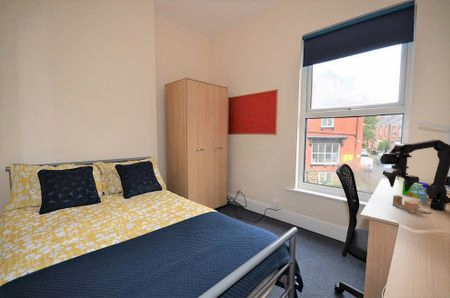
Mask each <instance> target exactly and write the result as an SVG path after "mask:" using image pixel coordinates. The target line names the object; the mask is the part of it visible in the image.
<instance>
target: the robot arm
mask: <svg viewBox="0 0 450 298" xmlns="http://www.w3.org/2000/svg"><path fill="white" fill-rule="evenodd" d="M430 148H433V150H435V151H436V152H437V153H436V154H437V155H436V156H437V158H438V163H437V164H438V165H437V167H436V171H435V175H434V178H433V182H432V183H431V184H428V185H427V189H426V193H427V195H428V196H427V197H428V199H430V204H429V208H430V209H432V210H434V211H439V212H440V211H442V212H443V211H446V206H447V204H450V197H449V196H447V193H448V191H447V188H446V182H447V178H448V175H449V172H450V144H448V143H447V142H444V141H443V140H440V139H431V140H425V141H418V142H414V143H413V142H412V143H396V144H395V145H394V147H393V148H392V149H391V150H390V151H389V153H386V152H384V153H382V155H381V157H379V162H380V164H381V165H392V167H391V168H389V169H387V170H386V169H385V170H383V171H382V175H383V177H386V178H387V179H388V183H389V185H390V188H394V186H395V182H396V178H402V179H403V181H402V182H404V183H405V192H407V191H408V190H409V188H410V187H411V186H412V185H413V184H414V183H417V182H420V178H419V176H415V175H413V174H412V175H409V173H407V169H409V168H410V167H409V166H408V159H409V158H413V157H412V155H411V154H412V153H413V152H415V151H418V150H419V151H420V150H425V149H430ZM410 153H411V154H410Z"/></svg>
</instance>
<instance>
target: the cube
mask: <svg viewBox="0 0 450 298" xmlns="http://www.w3.org/2000/svg"><path fill="white" fill-rule="evenodd" d="M403 204H404V208H405V209H408V210H410V211H411V209H418V207H420V206H419V205H420V203H418V202H416V201H413V200H404V203H403Z"/></svg>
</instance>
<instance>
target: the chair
mask: <svg viewBox="0 0 450 298" xmlns="http://www.w3.org/2000/svg"><path fill="white" fill-rule="evenodd" d="M413 188H416V189H417V191H413V190H414V189H413ZM422 189H425V190H426V188H424V187H421V186H419V185H412V191H410V192H412V193H414V194H416V195H418V196H419V198H420V201H421V202H423V203H427V197H428V195H427V193H426V191H425V193H424V192H422V191H421V190H422ZM419 190H420V191H419ZM421 196H423V198H422V197H421Z"/></svg>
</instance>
